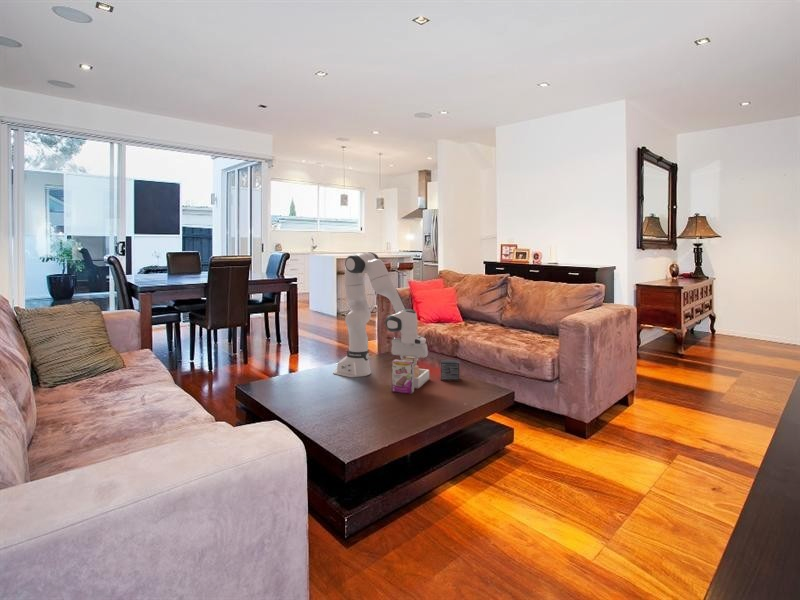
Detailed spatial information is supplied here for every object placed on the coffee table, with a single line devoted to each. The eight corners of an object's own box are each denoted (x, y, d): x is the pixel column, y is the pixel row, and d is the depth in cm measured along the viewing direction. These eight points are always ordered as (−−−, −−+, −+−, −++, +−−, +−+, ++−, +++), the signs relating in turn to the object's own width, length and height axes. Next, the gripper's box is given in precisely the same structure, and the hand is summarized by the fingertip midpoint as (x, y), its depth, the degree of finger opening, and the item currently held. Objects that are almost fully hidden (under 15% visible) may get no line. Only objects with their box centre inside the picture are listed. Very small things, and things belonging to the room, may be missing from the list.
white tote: (393, 385, 246) (393, 375, 245) (405, 376, 263) (405, 367, 262) (418, 388, 240) (418, 378, 240) (429, 379, 257) (429, 369, 257)
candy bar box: (391, 392, 235) (391, 361, 233) (394, 389, 240) (394, 358, 238) (411, 394, 231) (411, 363, 229) (414, 391, 236) (414, 360, 234)
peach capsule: (408, 379, 255) (408, 366, 254) (412, 376, 259) (412, 364, 258) (416, 380, 252) (416, 367, 252) (420, 377, 257) (420, 365, 256)
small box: (459, 377, 261) (459, 360, 259) (459, 381, 254) (459, 362, 253) (440, 377, 262) (440, 359, 260) (440, 380, 255) (440, 362, 254)
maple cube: (406, 365, 249) (406, 356, 249) (415, 366, 247) (415, 357, 247) (403, 367, 245) (403, 358, 244) (412, 368, 243) (412, 359, 242)
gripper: (389, 338, 245) (389, 363, 247) (425, 341, 238) (425, 367, 239) (393, 336, 251) (394, 360, 253) (428, 339, 243) (428, 364, 245)
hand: (409, 363), depth 246 cm, fingers closed on maple cube, 5 cm apart
